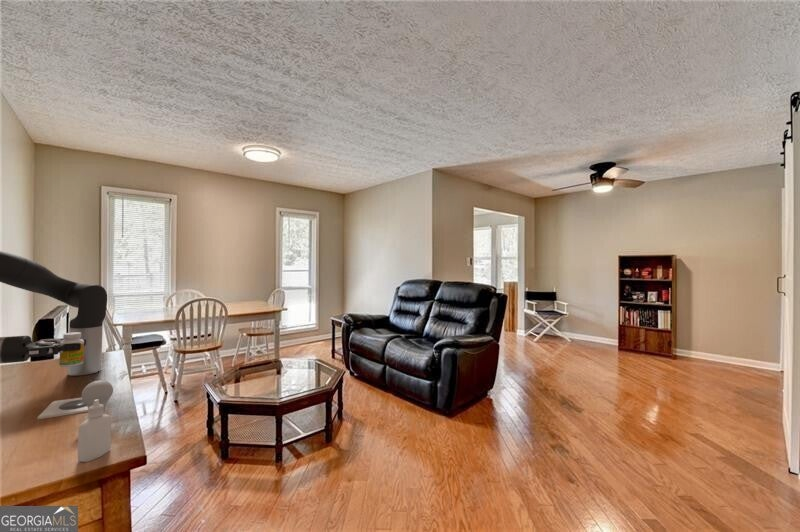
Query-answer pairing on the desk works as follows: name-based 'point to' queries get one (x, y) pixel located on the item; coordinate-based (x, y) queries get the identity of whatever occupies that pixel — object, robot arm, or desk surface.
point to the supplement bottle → (72, 356)
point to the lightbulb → (97, 393)
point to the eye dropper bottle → (94, 434)
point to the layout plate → (64, 408)
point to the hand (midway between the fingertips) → (83, 344)
